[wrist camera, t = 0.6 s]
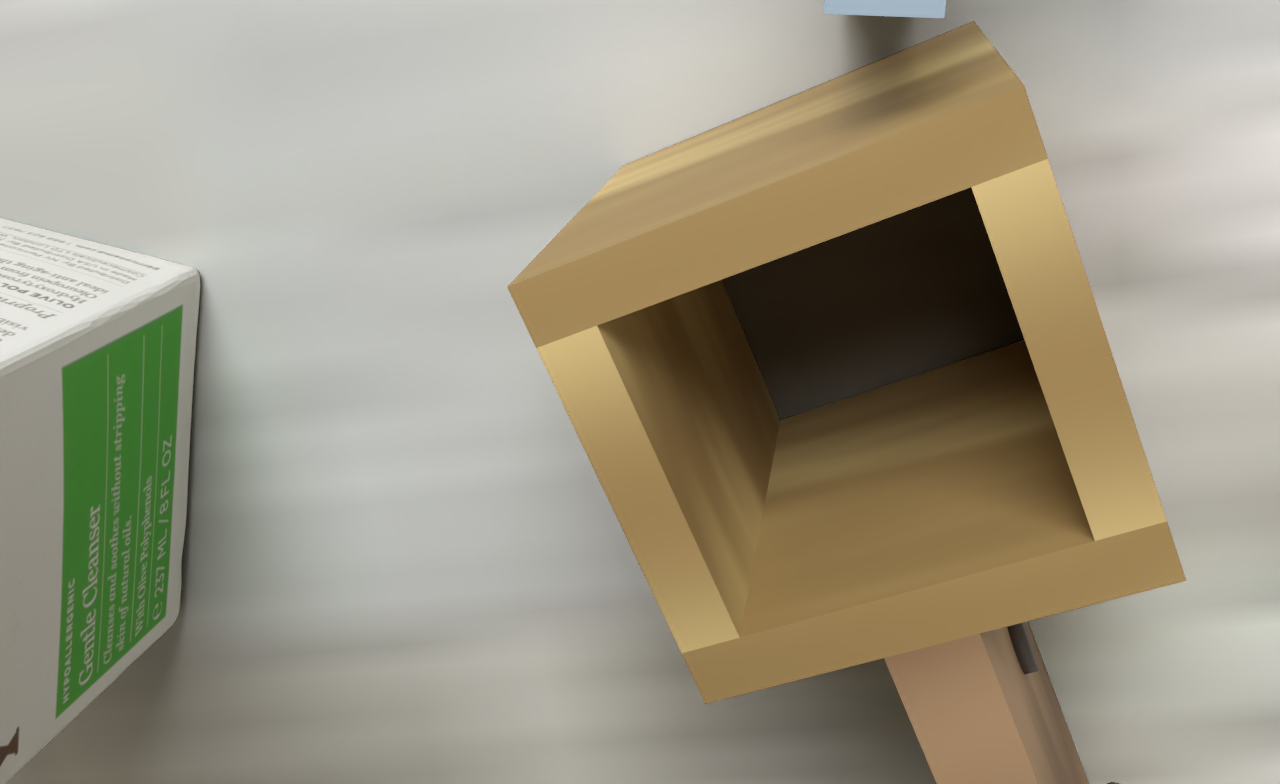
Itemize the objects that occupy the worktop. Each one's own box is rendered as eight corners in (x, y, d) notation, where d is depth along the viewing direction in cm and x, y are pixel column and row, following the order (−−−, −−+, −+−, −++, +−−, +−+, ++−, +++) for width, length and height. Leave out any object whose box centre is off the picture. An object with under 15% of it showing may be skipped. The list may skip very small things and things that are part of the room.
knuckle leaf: (1244, 830, 23) (1385, 1187, 17) (936, 890, 25) (956, 1232, 19) (974, 21, 19) (1023, 85, 12) (622, 166, 20) (507, 287, 14)
